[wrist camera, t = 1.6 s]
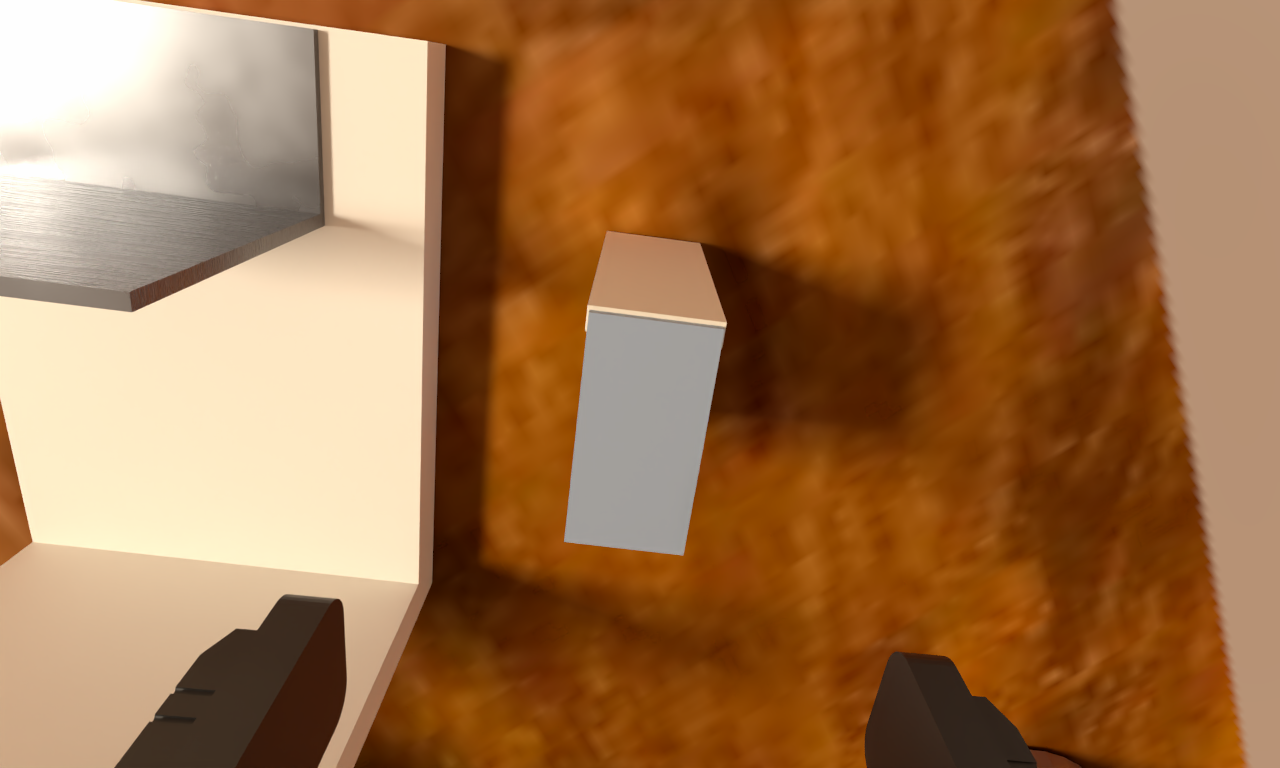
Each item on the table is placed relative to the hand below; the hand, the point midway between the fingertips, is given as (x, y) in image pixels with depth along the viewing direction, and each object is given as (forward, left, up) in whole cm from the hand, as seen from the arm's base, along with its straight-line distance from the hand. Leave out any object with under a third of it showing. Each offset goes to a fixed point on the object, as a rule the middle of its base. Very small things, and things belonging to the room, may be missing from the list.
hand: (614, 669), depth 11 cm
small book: (0, 0, -16) cm, 16 cm away
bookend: (+15, -5, -14) cm, 21 cm away
